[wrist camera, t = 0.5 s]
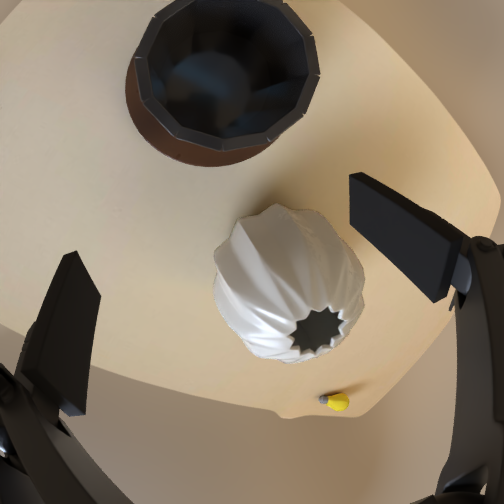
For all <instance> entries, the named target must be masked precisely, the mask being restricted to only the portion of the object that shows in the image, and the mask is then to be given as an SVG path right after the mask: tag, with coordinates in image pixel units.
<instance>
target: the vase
mask: <svg viewBox="0 0 504 504" xmlns="http://www.w3.org/2000/svg"><path fill="white" fill-rule="evenodd" d="M214 259H215V264H216V268H217V274H216V277H215V280H214V286H213V295H214V300H215V302H216V305H217V307H218V309H219V311H220V313H221V315H222V316H223V318H224V320H225V321H226V322H227V324H228V325H229V326H230V328H231V329H232V330H234V331H235V332H236V333H237V334H238V335H239V336H240V337H241V339H242V341H243V342H244V344H245V346H246V347H247V348H248V349H249V351H250V352H251V353H253V354H254V355H256V356H257V357H259V358H266V359H277V360H279V361H281V362H283V363H285V364H291V363H298V362H303V361H307V360H310V359H313V358H318V357H320V356H321V355H324V354H327V353H328V352H330V351H331V350H332V349H333V348H335V347H337V346H338V345H339V344H341V343H342V342H343V340H344V339H345V338H346V337H347V336H348V335H349V333H350V330H351V329H352V327H353V326H354V325H355V323H356V322H357V320H358V318H359V317H360V315H361V313H362V311H363V309H364V306H365V304H364V299H363V296H362V291H363V287H364V283H365V276H364V270H363V267H362V265H361V263H360V261H359V259H358V257H357V256H356V254H355V253H354V251H353V250H352V249H351V247H350V246H349V245H348V244H347V243H346V242H345V241H344V240H343V239H341V238H340V237H339V236H338V234H337V232H336V231H335V230H334V228H333V227H332V225H331V224H330V223H329V222H328V220H327V219H326V218H325V217H324V216H323V215H321V214H320V213H319V212H317V211H314V210H309V209H308V210H296V211H293V210H291V209H289V208H287V207H285V206H283V205H280V204H277V203H275V204H273V205H271V206H270V207H269V208H267V209H266V210H264V211H263V212H262V213H260V214H259V215H254V216H248V217H242V218H239V219H238V220H237V221H236V223H235V225H234V228H233V230H232V233H231V235H230V237H229V238H228V239H227V240H226V241H225V242H224V243H222V244H221V245H220V246H219V247H218V248H216V250H215V252H214Z"/></svg>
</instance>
